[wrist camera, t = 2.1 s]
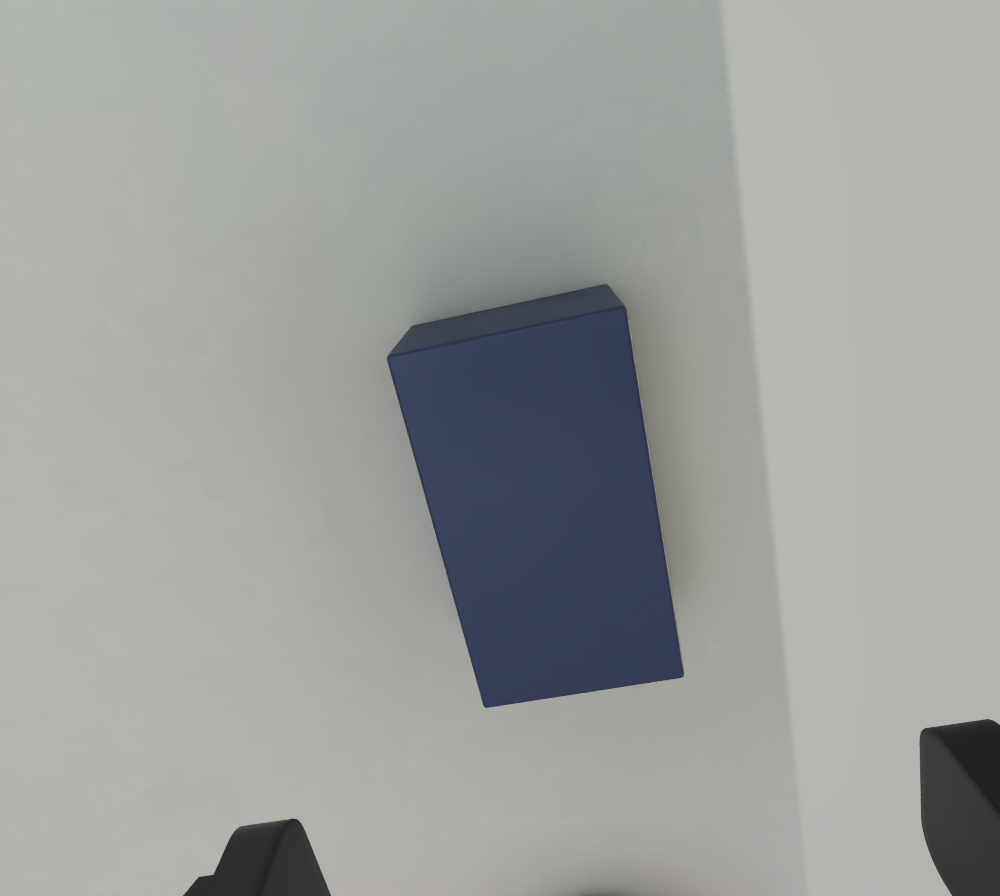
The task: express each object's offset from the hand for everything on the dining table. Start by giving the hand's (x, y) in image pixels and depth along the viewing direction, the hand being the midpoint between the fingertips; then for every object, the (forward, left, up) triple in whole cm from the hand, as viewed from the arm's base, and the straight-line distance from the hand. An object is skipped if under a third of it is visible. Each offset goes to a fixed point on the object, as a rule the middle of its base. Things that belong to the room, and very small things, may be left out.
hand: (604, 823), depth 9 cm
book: (+1, 0, -14) cm, 14 cm away
